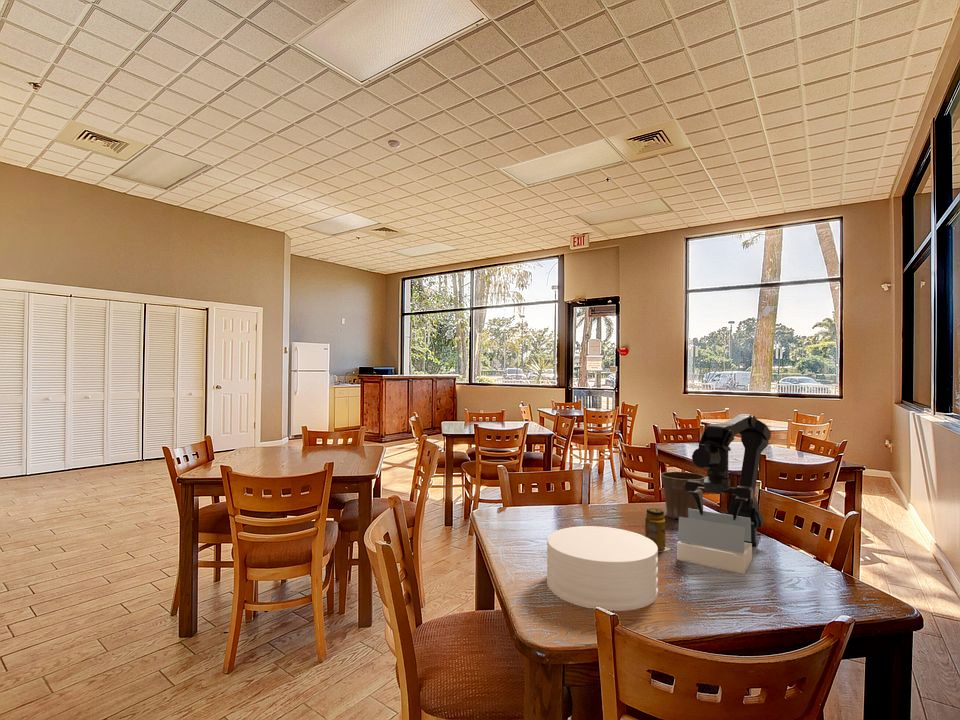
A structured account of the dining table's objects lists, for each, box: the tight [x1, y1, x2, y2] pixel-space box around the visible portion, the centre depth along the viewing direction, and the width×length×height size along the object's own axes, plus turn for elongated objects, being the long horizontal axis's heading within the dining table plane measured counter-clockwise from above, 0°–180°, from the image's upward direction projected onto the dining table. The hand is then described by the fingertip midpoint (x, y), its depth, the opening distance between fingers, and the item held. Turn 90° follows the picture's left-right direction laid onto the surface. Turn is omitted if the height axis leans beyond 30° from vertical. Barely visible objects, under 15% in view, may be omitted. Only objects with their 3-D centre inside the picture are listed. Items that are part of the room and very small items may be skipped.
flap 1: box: [688, 509, 751, 542], centre depth 156 cm, size 7×18×1 cm
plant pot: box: [660, 471, 706, 520], centre depth 198 cm, size 16×16×16 cm
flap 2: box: [677, 517, 745, 553], centre depth 147 cm, size 7×18×1 cm
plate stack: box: [546, 525, 659, 612], centre depth 133 cm, size 28×28×12 cm
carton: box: [676, 541, 753, 575], centre depth 151 cm, size 13×18×5 cm
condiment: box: [644, 507, 672, 553], centre depth 162 cm, size 7×8×12 cm
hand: (717, 517), depth 155 cm, fingers open, 9 cm apart
